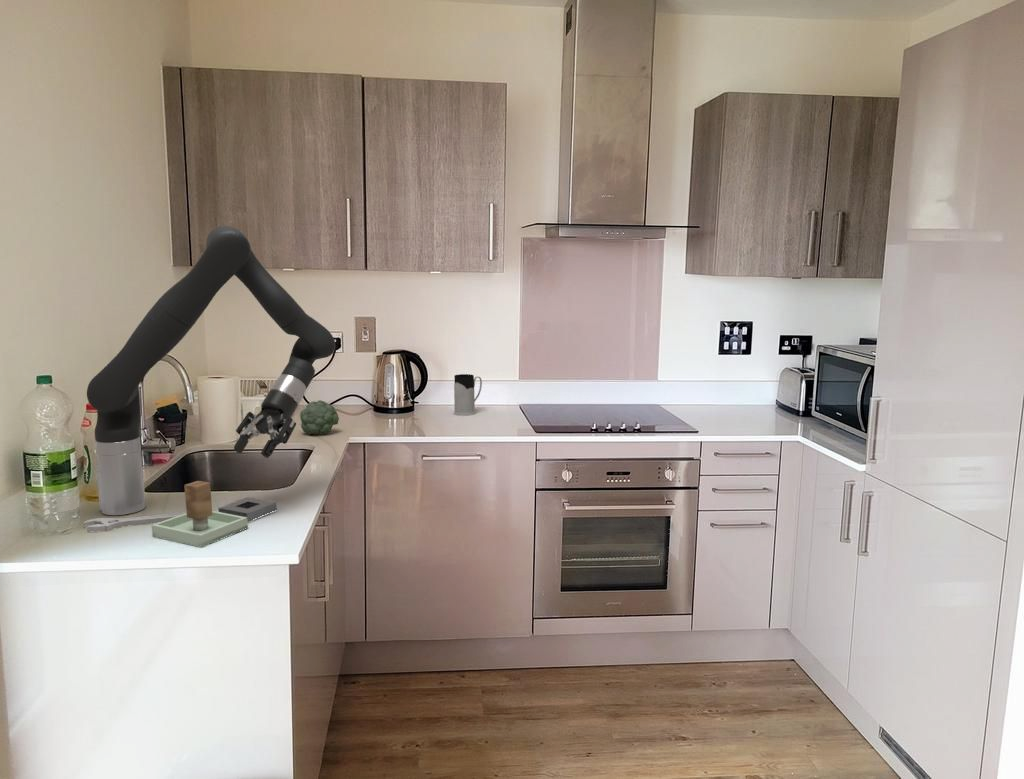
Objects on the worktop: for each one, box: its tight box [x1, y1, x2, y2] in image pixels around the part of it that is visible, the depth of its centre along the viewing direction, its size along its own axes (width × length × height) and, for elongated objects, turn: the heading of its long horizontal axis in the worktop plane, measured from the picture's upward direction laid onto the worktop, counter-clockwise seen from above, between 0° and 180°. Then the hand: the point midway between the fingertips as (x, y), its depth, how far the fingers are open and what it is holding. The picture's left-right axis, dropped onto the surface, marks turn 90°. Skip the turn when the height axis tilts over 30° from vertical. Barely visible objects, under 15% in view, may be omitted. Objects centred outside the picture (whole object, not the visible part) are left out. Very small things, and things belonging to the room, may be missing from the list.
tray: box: [151, 510, 249, 548], centre depth 162 cm, size 15×13×2 cm
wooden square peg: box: [183, 480, 213, 531], centre depth 162 cm, size 4×4×10 cm
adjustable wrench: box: [83, 511, 187, 533], centre depth 168 cm, size 25×6×2 cm, turn 106°
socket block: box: [217, 496, 278, 523], centre depth 174 cm, size 9×9×2 cm
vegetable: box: [299, 400, 340, 436], centre depth 260 cm, size 12×13×15 cm
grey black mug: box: [453, 373, 483, 417], centre depth 295 cm, size 9×14×15 cm, turn 140°
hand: (250, 453), depth 174 cm, fingers open, 8 cm apart
